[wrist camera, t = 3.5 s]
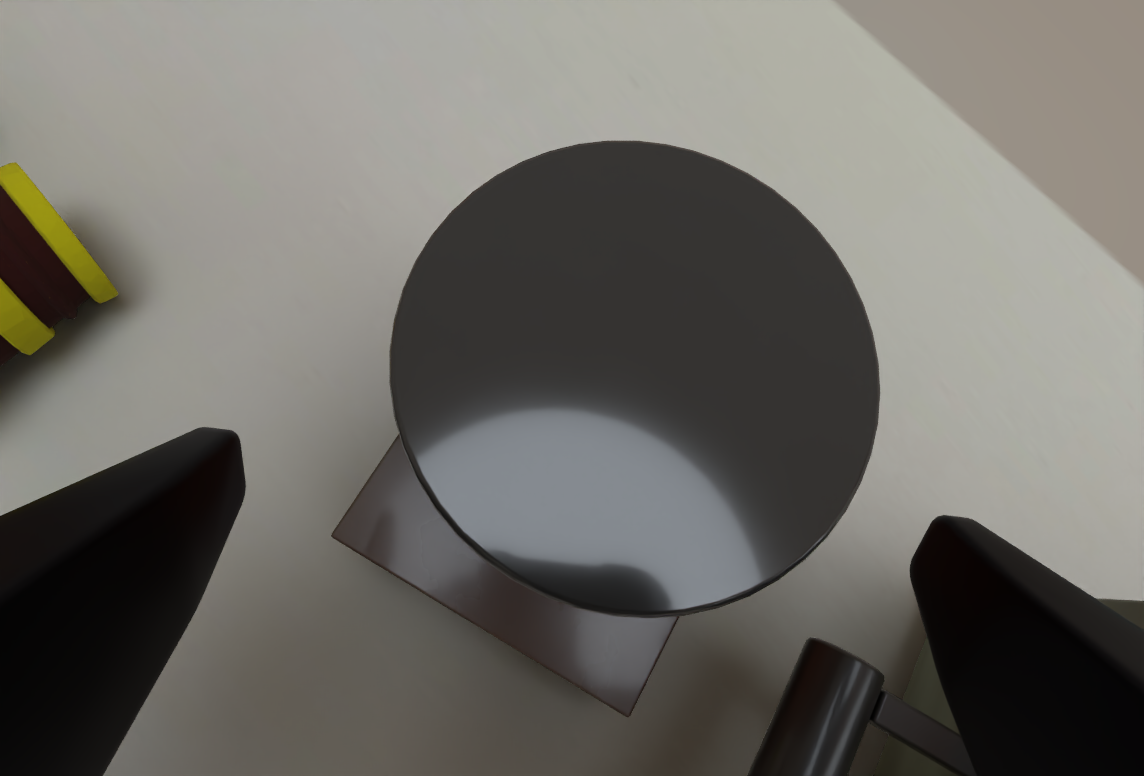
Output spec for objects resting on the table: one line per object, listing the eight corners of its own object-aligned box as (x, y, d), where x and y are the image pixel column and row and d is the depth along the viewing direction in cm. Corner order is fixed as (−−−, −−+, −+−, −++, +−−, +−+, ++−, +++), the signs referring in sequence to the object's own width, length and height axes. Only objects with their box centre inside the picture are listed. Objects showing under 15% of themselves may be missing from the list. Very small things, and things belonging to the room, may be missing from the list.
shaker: (606, 630, 14) (756, 728, 5) (412, 514, 14) (278, 440, 6) (706, 439, 15) (951, 284, 7) (527, 335, 15) (554, 62, 7)
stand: (607, 691, 16) (629, 719, 13) (360, 541, 16) (329, 536, 14) (733, 444, 18) (776, 421, 15) (509, 314, 18) (509, 267, 15)
